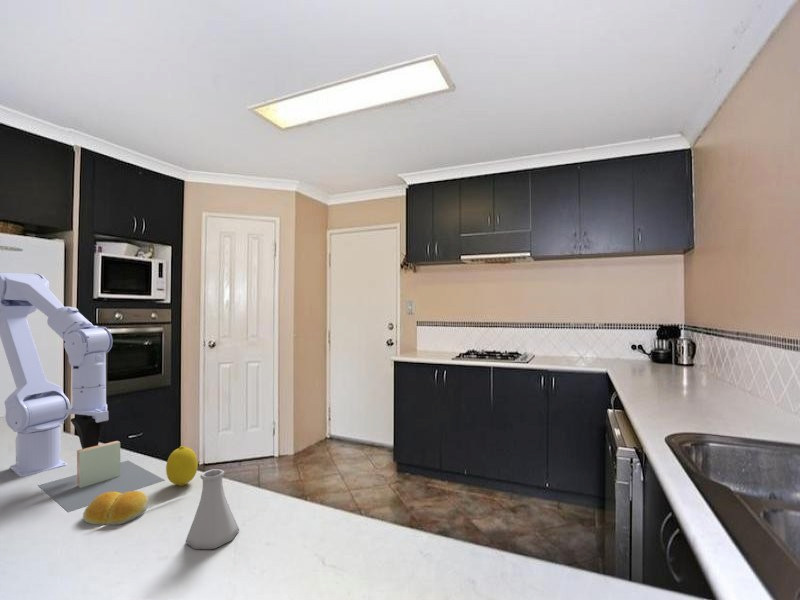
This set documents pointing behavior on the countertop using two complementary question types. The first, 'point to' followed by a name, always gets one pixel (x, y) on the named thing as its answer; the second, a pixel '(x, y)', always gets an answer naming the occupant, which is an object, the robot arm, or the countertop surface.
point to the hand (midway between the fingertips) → (90, 450)
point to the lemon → (181, 466)
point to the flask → (212, 515)
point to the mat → (98, 486)
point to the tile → (98, 463)
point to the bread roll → (115, 508)
